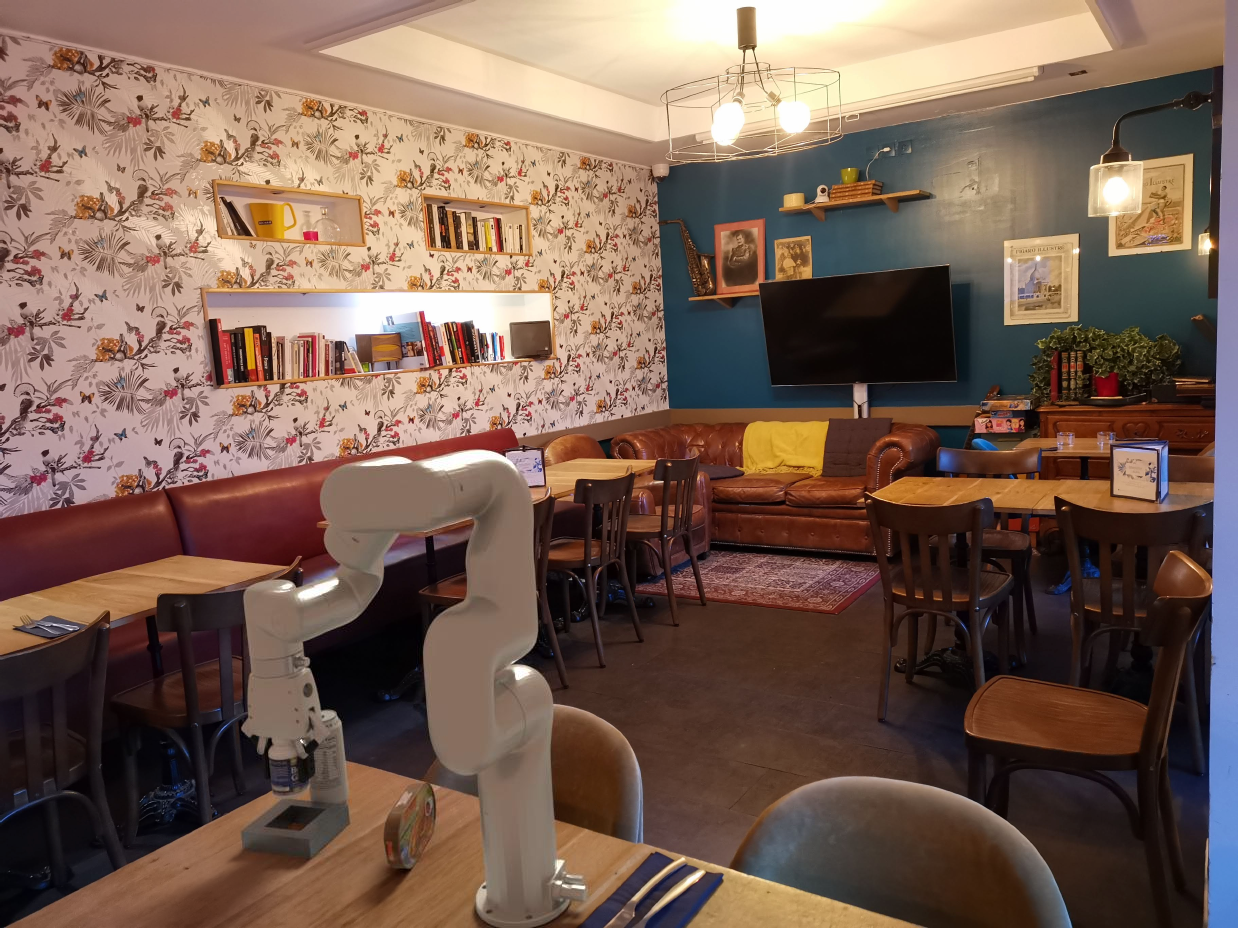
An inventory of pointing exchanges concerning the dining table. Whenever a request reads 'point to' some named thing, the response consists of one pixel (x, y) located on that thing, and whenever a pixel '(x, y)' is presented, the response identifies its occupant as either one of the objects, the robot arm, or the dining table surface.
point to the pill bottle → (285, 770)
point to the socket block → (306, 843)
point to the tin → (410, 825)
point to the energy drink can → (330, 764)
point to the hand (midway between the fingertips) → (290, 775)
